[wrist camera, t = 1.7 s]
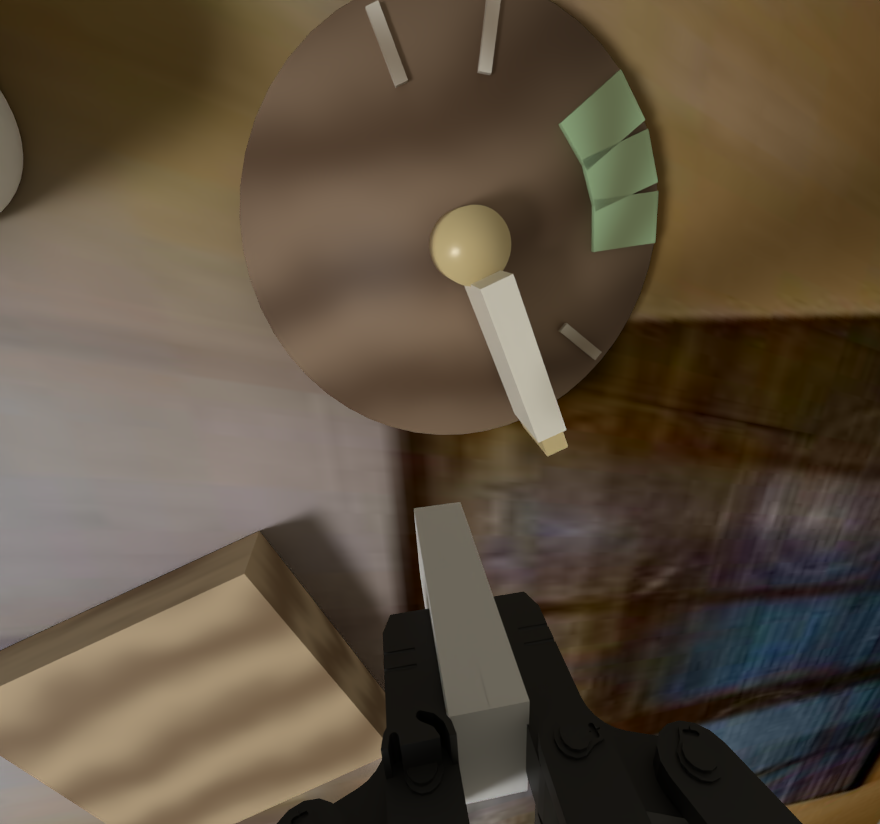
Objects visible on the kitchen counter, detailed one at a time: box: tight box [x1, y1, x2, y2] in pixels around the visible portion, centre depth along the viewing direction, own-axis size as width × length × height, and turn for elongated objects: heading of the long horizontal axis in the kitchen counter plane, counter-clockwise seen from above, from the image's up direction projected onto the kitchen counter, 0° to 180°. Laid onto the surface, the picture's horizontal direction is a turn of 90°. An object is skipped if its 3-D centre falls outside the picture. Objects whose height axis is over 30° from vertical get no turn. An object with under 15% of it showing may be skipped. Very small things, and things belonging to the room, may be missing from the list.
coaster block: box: [0, 531, 386, 824], centre depth 32 cm, size 20×20×4 cm
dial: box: [240, 0, 658, 435], centre depth 24 cm, size 22×22×2 cm
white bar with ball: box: [429, 205, 568, 456], centre depth 23 cm, size 13×4×4 cm, turn 23°
